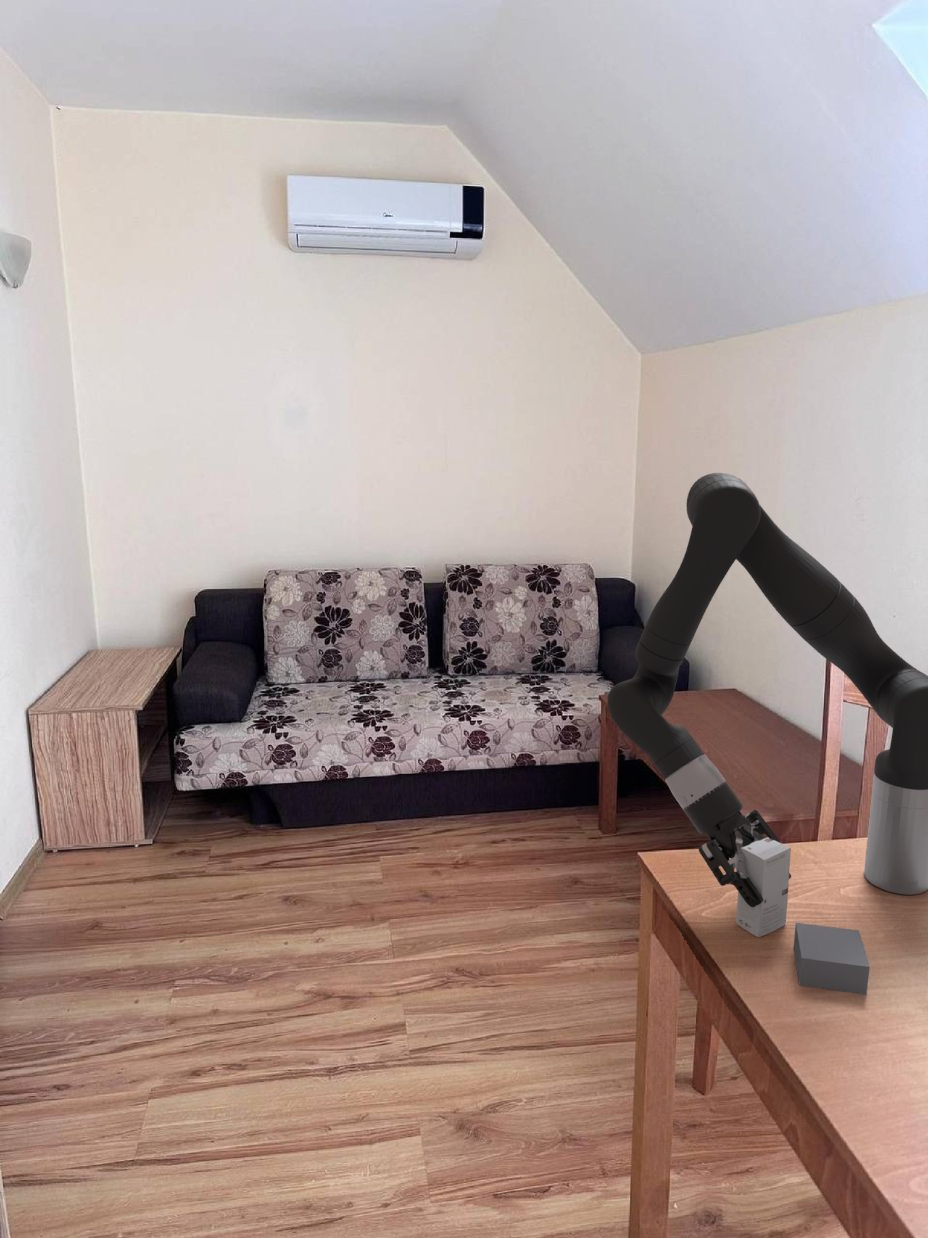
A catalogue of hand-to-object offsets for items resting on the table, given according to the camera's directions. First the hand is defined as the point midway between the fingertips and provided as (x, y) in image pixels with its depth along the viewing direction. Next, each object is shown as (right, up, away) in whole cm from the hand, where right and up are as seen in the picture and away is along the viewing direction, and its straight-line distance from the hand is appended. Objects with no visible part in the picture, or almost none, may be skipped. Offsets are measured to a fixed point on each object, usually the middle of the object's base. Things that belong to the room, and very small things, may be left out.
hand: (772, 892), depth 124 cm
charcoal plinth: (+5, -8, -8) cm, 12 cm away
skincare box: (-1, -5, +2) cm, 6 cm away
